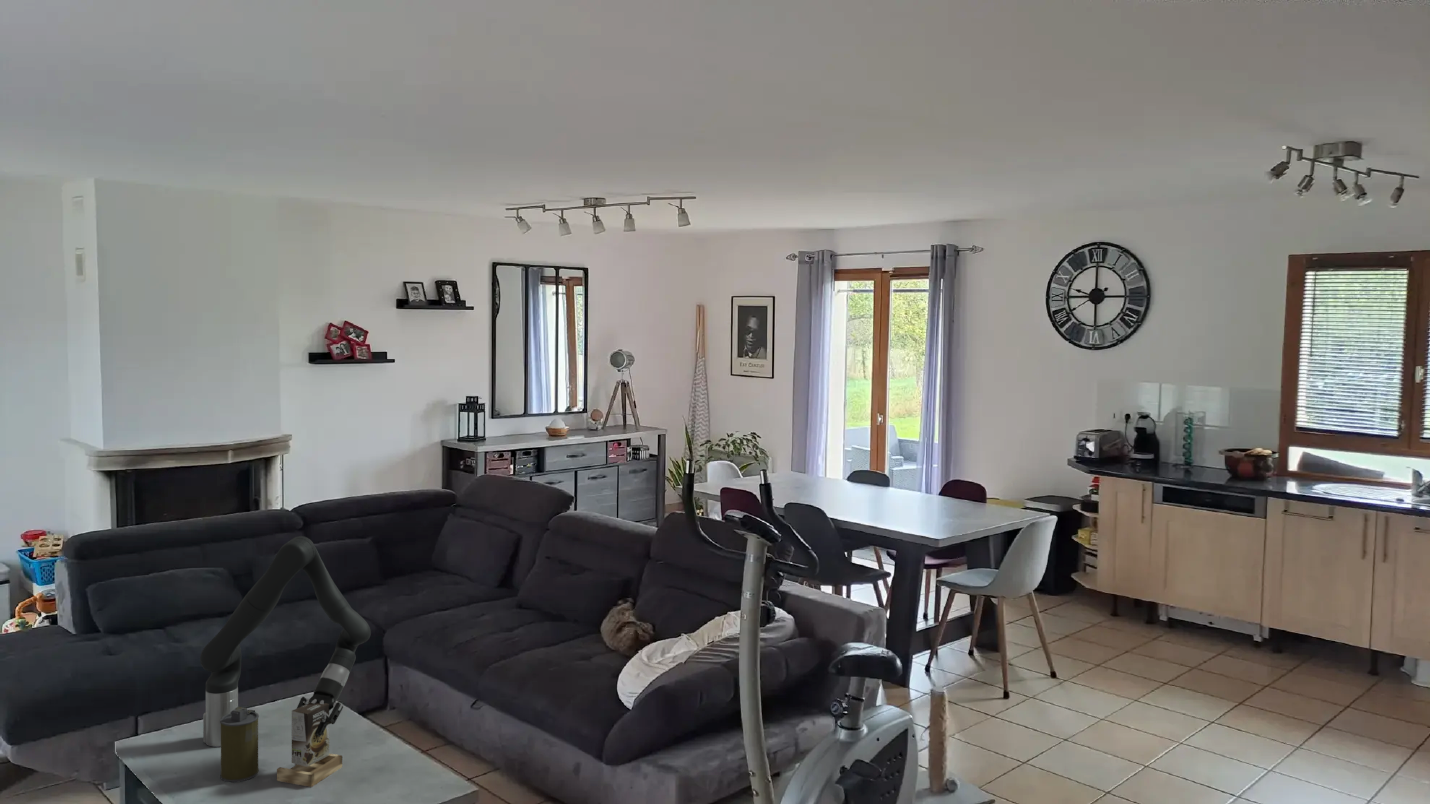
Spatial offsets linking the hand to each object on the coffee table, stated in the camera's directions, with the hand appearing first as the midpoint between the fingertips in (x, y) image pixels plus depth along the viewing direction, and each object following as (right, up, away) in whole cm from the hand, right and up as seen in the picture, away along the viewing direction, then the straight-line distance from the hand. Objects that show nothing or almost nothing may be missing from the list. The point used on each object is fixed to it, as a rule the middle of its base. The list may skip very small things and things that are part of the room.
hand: (306, 734), depth 296 cm
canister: (-20, -12, +1) cm, 24 cm away
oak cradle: (0, -13, +2) cm, 13 cm away
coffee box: (0, -8, +2) cm, 9 cm away
